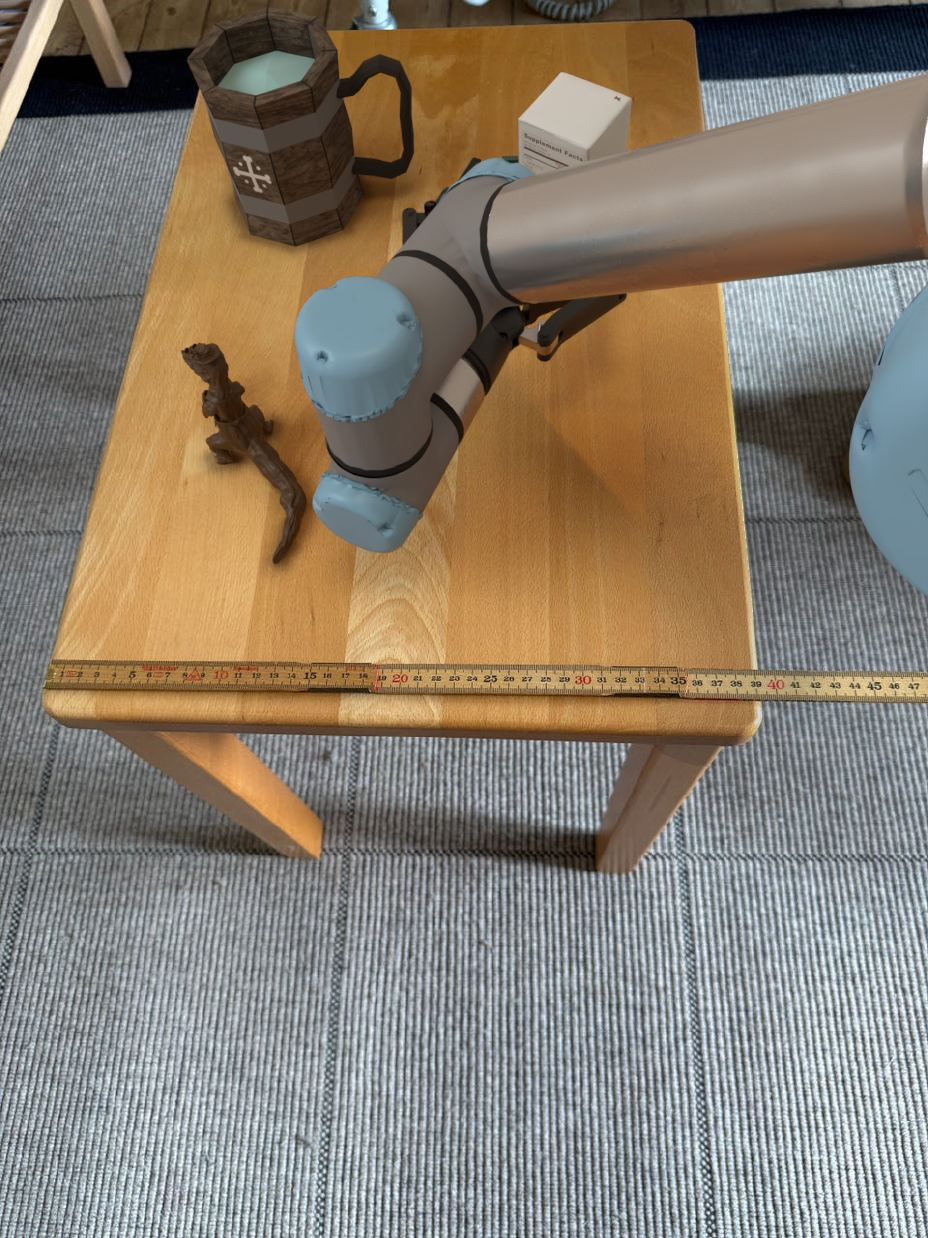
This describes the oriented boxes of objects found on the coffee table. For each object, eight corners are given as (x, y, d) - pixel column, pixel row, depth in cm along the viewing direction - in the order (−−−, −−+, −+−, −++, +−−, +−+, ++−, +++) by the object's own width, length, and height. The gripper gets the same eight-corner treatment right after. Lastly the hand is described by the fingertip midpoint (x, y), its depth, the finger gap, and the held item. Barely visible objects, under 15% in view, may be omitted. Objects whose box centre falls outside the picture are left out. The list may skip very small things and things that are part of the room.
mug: (229, 249, 89) (176, 110, 75) (242, 156, 94) (195, 11, 81) (422, 239, 88) (404, 97, 74) (424, 145, 93) (408, -3, 80)
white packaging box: (557, 190, 89) (562, 67, 77) (620, 217, 87) (635, 95, 75) (516, 236, 86) (515, 116, 75) (580, 265, 84) (589, 147, 73)
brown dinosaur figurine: (219, 415, 80) (170, 318, 69) (325, 421, 79) (293, 323, 68) (181, 560, 74) (120, 479, 63) (295, 568, 73) (254, 487, 62)
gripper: (315, 358, 75) (424, 191, 82) (590, 451, 69) (680, 263, 77) (295, 292, 68) (415, 116, 75) (597, 390, 63) (696, 190, 70)
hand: (549, 190), depth 76 cm, fingers open, 13 cm apart
